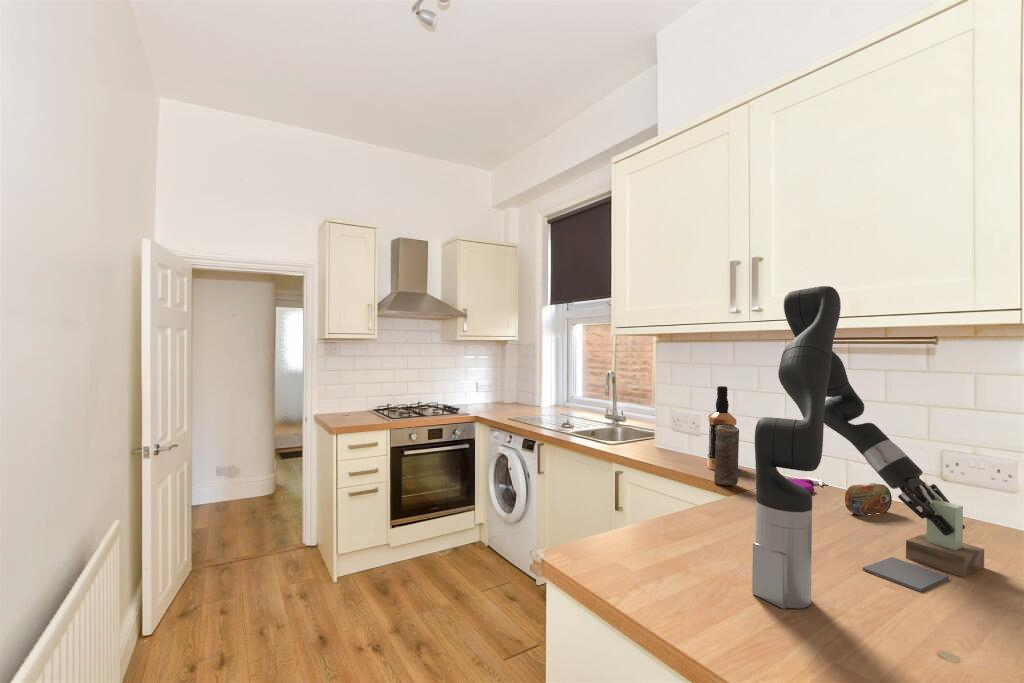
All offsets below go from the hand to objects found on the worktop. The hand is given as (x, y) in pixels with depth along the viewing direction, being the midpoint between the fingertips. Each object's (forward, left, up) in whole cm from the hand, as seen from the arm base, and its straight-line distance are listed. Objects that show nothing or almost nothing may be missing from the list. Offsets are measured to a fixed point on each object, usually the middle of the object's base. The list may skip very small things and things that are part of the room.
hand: (955, 531), depth 104 cm
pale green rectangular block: (0, +2, -3) cm, 4 cm away
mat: (-15, +3, -7) cm, 17 cm away
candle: (+8, +64, -8) cm, 65 cm away
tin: (+21, +27, -8) cm, 35 cm away
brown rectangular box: (0, +2, -7) cm, 8 cm away
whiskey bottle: (+27, +81, -8) cm, 86 cm away
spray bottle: (+28, +51, -8) cm, 59 cm away
